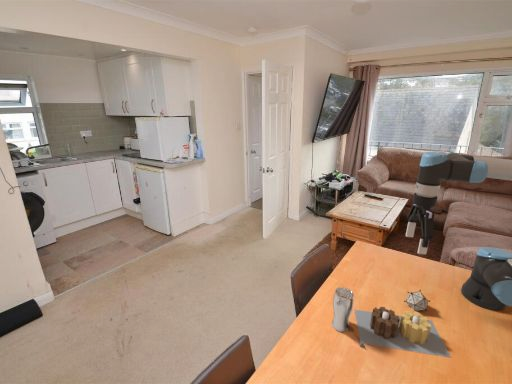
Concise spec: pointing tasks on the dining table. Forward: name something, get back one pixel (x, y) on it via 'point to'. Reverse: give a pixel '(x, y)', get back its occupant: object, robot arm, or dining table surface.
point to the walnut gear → (384, 323)
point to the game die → (417, 301)
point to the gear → (414, 327)
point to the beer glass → (342, 308)
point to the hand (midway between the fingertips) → (415, 244)
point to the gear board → (399, 337)
